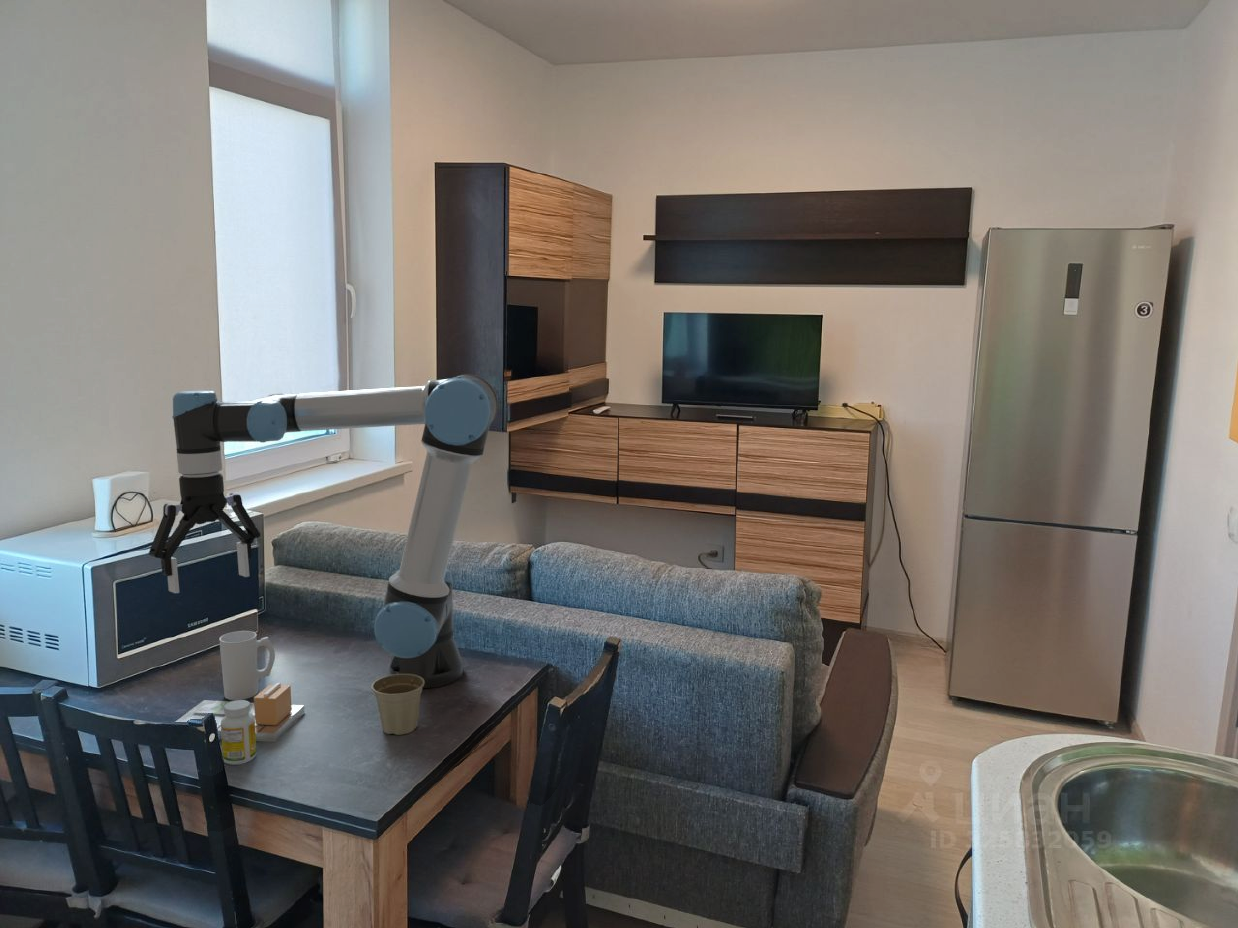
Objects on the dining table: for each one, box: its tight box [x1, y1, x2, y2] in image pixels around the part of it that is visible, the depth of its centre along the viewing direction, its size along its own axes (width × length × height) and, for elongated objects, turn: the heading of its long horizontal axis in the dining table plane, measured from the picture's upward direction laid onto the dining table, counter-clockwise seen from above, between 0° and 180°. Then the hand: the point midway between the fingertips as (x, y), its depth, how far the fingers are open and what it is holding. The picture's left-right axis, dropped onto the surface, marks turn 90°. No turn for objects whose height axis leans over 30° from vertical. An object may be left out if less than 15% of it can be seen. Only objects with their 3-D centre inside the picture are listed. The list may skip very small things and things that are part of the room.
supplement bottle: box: [221, 699, 257, 766], centre depth 155 cm, size 5×5×10 cm
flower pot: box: [370, 674, 425, 736], centre depth 166 cm, size 9×9×9 cm
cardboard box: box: [253, 682, 293, 725], centre depth 167 cm, size 4×6×6 cm, turn 174°
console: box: [174, 699, 305, 743], centre depth 168 cm, size 20×12×2 cm, turn 84°
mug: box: [218, 630, 276, 701], centre depth 181 cm, size 10×7×12 cm, turn 121°
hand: (210, 583), depth 174 cm, fingers open, 13 cm apart
